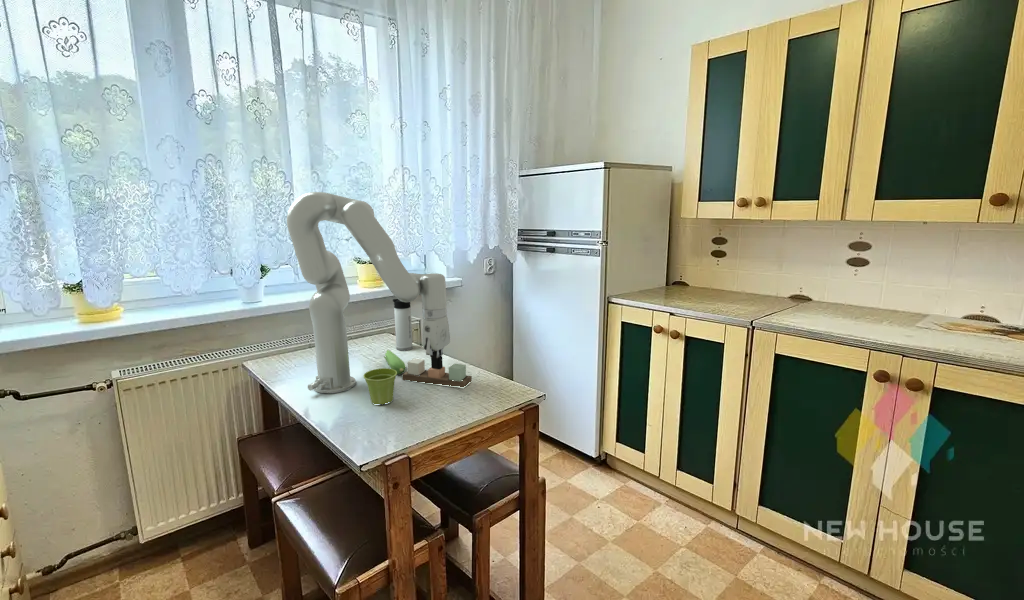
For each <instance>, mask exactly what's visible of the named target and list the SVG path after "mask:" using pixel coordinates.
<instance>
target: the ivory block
mask: <svg viewBox="0 0 1024 600" xmlns="http://www.w3.org/2000/svg"><path fill="white" fill-rule="evenodd" d="M425 362H426V361H425V359H421V358H411V359H410V360H409V361H407V371H408V374H413V375H416V376H419V375H420V374H421V373H423V372H424V371H425V370H426V365H425Z"/></svg>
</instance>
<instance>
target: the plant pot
mask: <svg viewBox="0 0 1024 600" xmlns="http://www.w3.org/2000/svg"><path fill="white" fill-rule="evenodd" d="M362 377H363V379H365V382H366V385H367V389H368V393H369V397H370V402H371V404H372V403H374V404H382V405H383V404H385V403H388V402H391V401H392V400H393V401H394V391H395V380H396V377H397V371H396V370H394V369H391V368H390V367H388V368H387V367H383V368H375V369H371V370H369V371H366V372H364V373H363V376H362ZM393 401H392V402H393ZM392 402H391V403H392ZM374 404H373V405H374Z"/></svg>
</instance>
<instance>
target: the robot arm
mask: <svg viewBox="0 0 1024 600" xmlns="http://www.w3.org/2000/svg"><path fill="white" fill-rule="evenodd" d="M323 221H327V222H331V223H334V224H340V225H344V226H345V227H346V229H347V230H348V232H349V233H350V234H351V236H353V238H354V240H355V241H356V242H357V244H359V247H361V249H362V250H363V251H364V252H365V253H366V255H367V257H368V258H369V260H370V263H371V264H372V265H373V267H374V269H375V270H376V272H377V273H378V275H379V277H380V278H381V280H382V281H383V282H384V284H385V285H386V287H387V288H388V289H389V291H390V292H391V293H392V294H393V295H394V297H395V299H399V300H400V301H402V302H410V303H411V302H413V301H416V299H417V298H418V297H419V296H421V306H422V309H421V310H422V320H423V321H422V322H423V323H422V347H423V350H425V351H426V352H425V353H426V356H429V357H430V361H431V363H430V364H431V367H432V368H433V369H441V368H442V367H444V366H443V356H444V348H445V347H446V346H448V345H449V344H450V343H451V333H450V324H449V318H448V315H447V314H448V311H447V309H448V308H447V288H446V277H445V275H444V274H441V273H436V272H435V273H426V274H424V273H414V272H409V271H408V270H407V269H406V267H405V266H404V264H403V263H402V261H401V259H400V257H399V256H398V253H397V250H396V246H395V244H394V241H393V240H392V238H391V237H390V236H389V234H388V233H387V232H386V230H385V229H384V228H383V226H382V225H381V224H380V222H379V220H377V218H376V217H375V212H374V209H373V207H372V206H371V205H370V204H369V202H366V201H363V200H359V199H354V198H349V197H345V196H341V195H337V194H333V193H329V192H325V191H310V192H309V191H308V192H306V193H304V194H301V195H300V196H299V197H297V198H296V199H295V200H294V201H293V202H292V204H291V205H290V206H289V209H288V211H287V215H286V226H287V230H288V234H289V237H290V240H291V242H292V246H293V249H294V252H295V255H296V259H297V262H298V265H299V269H300V271H301V275H302V278H303V279H304V280H305V281H306V282H307V283H309V284H310V285H313V286H315V287H316V290H317V291H315V293H314V294H313V295H312V296H311V298H310V300H309V308H308V309H309V315H310V319H311V323H312V325H311V326H312V330H313V339H314V340H313V341H314V348H315V349H314V350H315V359H316V370H317V376H315V380H314V381H313V382H311V383H309V384H308V385H307V389H308V390H309V391H311V392H312V391H315V392H316V393H322V394H337V393H341V392H344V391H345V392H346V391H348V390H350V389H352V388H353V387H355V385H356V383H357V382H356V378H354V377H353V376H351V371H350V358H349V357H350V356H349V346H348V343H349V342H348V334H347V333H348V332H347V325H346V318H345V312H344V311H345V309H346V308H347V306H349V303H350V298H351V297H350V296H351V295H350V290H349V287H348V284H347V283H348V282H347V281H346V277H345V274H344V270H343V268H342V265H341V262H340V260H339V258H338V256H337V255H335V254H334V253H333V252H332V251H329V250H327V248H326V245H325V241H324V238H323V235H322V233H321V231H320V228H319V223H320V222H323ZM431 367H430V368H431Z"/></svg>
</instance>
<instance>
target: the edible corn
mask: <svg viewBox="0 0 1024 600" xmlns="http://www.w3.org/2000/svg"><path fill="white" fill-rule="evenodd" d="M384 355H385V356H384ZM384 355H383V358H384V360H385V361H386V362H387V364H388V366H389V369H394V370H396V371H397V375H399V374H400V375H402V374H404V373H405V372H406V370H407V366H406V363H405V361H404V360H402V359H401V358H400V357H399V356H398V355H396V354H395V353H394V352H392V351H391V350H388V349H387V350H386V352H385V353H384ZM397 375H396V376H397Z"/></svg>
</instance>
